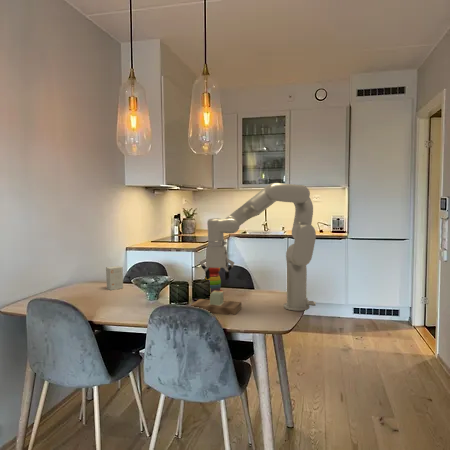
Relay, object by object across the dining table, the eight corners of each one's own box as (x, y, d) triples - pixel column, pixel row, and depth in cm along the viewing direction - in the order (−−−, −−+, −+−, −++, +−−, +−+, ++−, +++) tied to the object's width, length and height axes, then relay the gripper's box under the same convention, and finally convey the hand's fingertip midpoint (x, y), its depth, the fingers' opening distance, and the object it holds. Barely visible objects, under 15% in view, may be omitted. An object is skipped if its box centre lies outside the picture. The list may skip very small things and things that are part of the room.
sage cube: (223, 302, 198) (223, 292, 198) (219, 305, 193) (219, 294, 193) (213, 301, 199) (213, 291, 199) (210, 304, 195) (209, 294, 194)
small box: (119, 286, 248) (118, 265, 247) (123, 288, 243) (122, 267, 242) (106, 288, 243) (105, 267, 242) (110, 290, 238) (109, 268, 237)
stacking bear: (220, 297, 220) (220, 265, 219) (202, 296, 222) (201, 264, 221) (224, 292, 231) (224, 261, 229) (207, 291, 233) (206, 261, 231)
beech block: (223, 302, 210) (223, 291, 209) (220, 305, 205) (220, 293, 204) (214, 301, 211) (214, 290, 211) (211, 304, 206) (211, 292, 206)
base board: (241, 307, 199) (241, 301, 199) (234, 314, 188) (234, 308, 187) (199, 304, 205) (199, 298, 205) (190, 311, 194) (190, 304, 194)
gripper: (235, 243, 195) (236, 278, 196) (201, 243, 200) (203, 277, 202) (231, 245, 188) (232, 281, 189) (196, 245, 193) (198, 280, 194)
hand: (217, 279), depth 195 cm, fingers open, 9 cm apart
